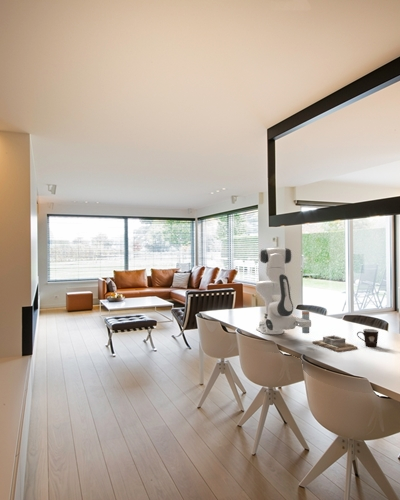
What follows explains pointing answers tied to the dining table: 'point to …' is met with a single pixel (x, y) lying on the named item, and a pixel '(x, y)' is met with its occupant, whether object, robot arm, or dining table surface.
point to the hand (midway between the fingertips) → (306, 320)
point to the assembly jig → (335, 343)
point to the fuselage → (306, 316)
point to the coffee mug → (370, 337)
